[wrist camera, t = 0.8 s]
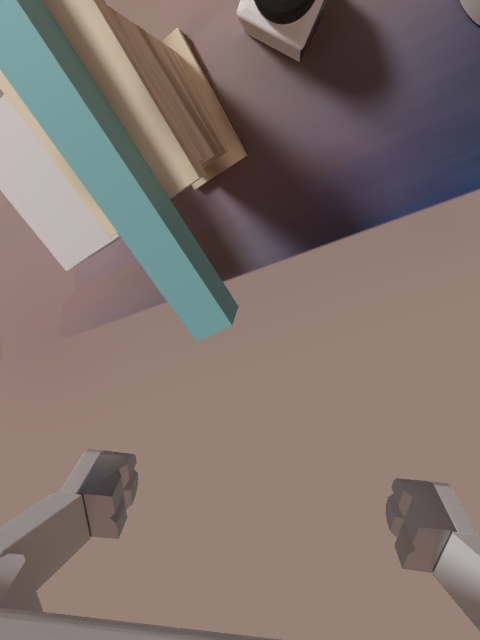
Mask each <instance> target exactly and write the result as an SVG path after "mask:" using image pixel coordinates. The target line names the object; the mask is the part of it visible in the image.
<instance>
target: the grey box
mask: <svg viewBox="0 0 480 640" xmlns="http://www.w3.org/2000/svg"><path fill="white" fill-rule="evenodd" d="M0 190H1V191H2V193H3V194H4V195H5V196H6V197H7V199H8V200H9V201H10V202H11V203H12V205H13V206H14V207H15V208H16V210H17V211H18V212H19V213H20V215H21V216H22V217H23V218H24V220H25V221H26V222H27V223H28V225H29V226H30V227H31V228H32V230H33V231H34V232H35V233H36V234H37V236H38V237H39V238H40V239H41V241H42V242H43V243H44V244H45V246H46V247H47V248H48V249H49V250H50V251H51V253H52V254H53V255H54V257H55V258H56V259H57V260H58V262H59V263H60V264H61V265H62V266H63V268H64V269H65V270H66V271H68V270H69V269H71V268H72V267H74V266H76V265H78V264H79V263H81V262H82V261H84V260H86V259H87V258H89V257H91V256H92V255H94V254H96V253H97V252H99V251H101V250H102V249H104V248H106V247H107V246H109V245H111V244H112V243H114V242H116V241H117V240H119V239H121V237H120V235H119V234H116V235H114V236H112V237H111V238H110V237H109V236H108V235H107V233H106V232H105V231H104V229H103V228H102V227H101V225H100V224H99V222H98V221H97V220H96V218H95V217H94V216H93V214H92V213H91V212H90V210H89V209H88V207H87V206H86V205H85V203H84V202H83V201H82V199H81V198H80V197H79V195H78V194H77V192H76V191H75V190H74V188H73V187H72V186H71V184H70V183H69V182H68V180H67V179H66V177H65V176H64V175H63V173H62V172H61V171H60V169H59V168H58V167H57V165H56V164H55V162H54V161H53V160H52V158H51V157H50V156H49V154H48V153H47V152H46V150H45V149H44V147H43V146H42V145H41V143H40V142H39V141H38V139H37V138H36V137H35V135H34V134H33V132H32V131H31V130H30V128H29V127H28V126H27V124H26V123H25V122H24V120H23V119H22V118H21V116H20V115H19V113H18V112H17V111H16V109H15V108H14V107H13V105H12V104H11V103H10V101H9V100H8V98H7V97H6V96H5V94H4V95H3V97H2V98H1V99H0Z"/></svg>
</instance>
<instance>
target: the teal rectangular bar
mask: <svg viewBox="0 0 480 640" xmlns="http://www.w3.org/2000/svg"><path fill="white" fill-rule="evenodd" d="M0 70H1V71H2V73H3V74H4V76H5V77H6V78H7V80H8V81H9V83H10V84H11V85H12V87H13V88H14V89H15V91H16V92H17V94H18V95H19V96H20V98H21V99H22V101H23V102H24V103H25V105H26V106H27V108H28V109H29V110H30V112H31V113H32V114H33V116H34V117H35V119H36V120H37V121H38V123H39V124H40V126H41V127H42V128H43V130H44V131H45V132H46V134H47V135H48V137H49V138H50V139H51V141H52V142H53V144H54V145H55V146H56V148H57V149H58V151H59V152H60V153H61V155H62V156H63V157H64V159H65V160H66V162H67V163H68V164H69V166H70V167H71V169H72V170H73V171H74V173H75V174H76V176H77V177H78V178H79V180H80V181H81V182H82V184H83V185H84V187H85V188H86V189H87V191H88V192H89V194H90V195H91V196H92V198H93V199H94V200H95V202H96V203H97V205H98V206H99V207H100V209H101V210H102V212H103V213H104V214H105V216H106V217H107V219H108V220H109V221H110V223H111V224H112V225H113V227H114V228H115V230H116V231H117V232H118V234H119V235H120V237H121V238H122V239H123V241H124V242H125V244H126V245H127V246H128V248H129V249H130V250H131V252H132V253H133V255H134V256H135V257H136V259H137V260H138V262H139V263H140V264H141V266H142V267H143V268H144V270H145V271H146V273H147V274H148V275H149V277H150V278H151V280H152V281H153V282H154V284H155V285H156V287H157V288H158V289H159V291H160V292H161V293H162V295H163V296H164V298H165V299H166V300H167V302H168V303H169V304H170V306H171V307H172V309H173V310H174V311H175V313H176V314H177V315H178V317H179V318H180V320H181V321H182V322H183V324H184V325H185V327H186V328H187V330H189V332H190V334H191V335H192V336H193V338H194V339H195V341H196V342H198V341H200V340H202V339H204V338H206V337H209V336H211V335H213V334H215V333H217V332H219V331H221V330H223V329H225V328H228V327H230V326H232V324H233V321H234V318H235V315H236V312H237V309H238V305H237V304H236V302H235V300H234V299H233V297H232V296H231V294H230V292H229V291H228V289H227V288H226V286H225V285H224V283H223V282H222V280H221V278H220V277H219V275H218V274H217V272H216V271H215V269H214V267H213V266H212V264H211V263H210V261H209V260H208V258H207V257H206V255H205V253H204V252H203V250H202V249H201V247H200V246H199V244H198V242H197V241H196V239H195V238H194V236H193V235H192V233H191V232H190V230H189V228H188V227H187V225H186V224H185V222H184V221H183V219H182V217H181V216H180V214H179V213H178V211H177V210H176V208H175V207H174V205H173V203H172V202H171V200H170V199H169V197H168V196H167V194H166V192H165V191H164V189H163V188H162V186H161V185H160V183H159V182H158V180H157V178H156V177H155V175H154V174H153V172H152V171H151V169H150V167H149V166H148V164H147V163H146V161H145V160H144V158H143V157H142V155H141V153H140V152H139V150H138V149H137V147H136V146H135V144H134V142H133V141H132V139H131V138H130V136H129V135H128V133H127V132H126V130H125V128H124V127H123V125H122V124H121V122H120V121H119V119H118V117H117V116H116V114H115V113H114V111H113V110H112V108H111V107H110V105H109V103H108V102H107V100H106V99H105V97H104V96H103V94H102V92H101V91H100V89H99V88H98V86H97V85H96V83H95V82H94V80H93V78H92V77H91V75H90V74H89V72H88V71H87V69H86V67H85V66H84V64H83V63H82V61H81V60H80V58H79V57H78V55H77V53H76V52H75V50H74V49H73V47H72V46H71V44H70V42H69V41H68V39H67V38H66V36H65V35H64V33H63V32H62V30H61V28H60V27H59V25H58V24H57V22H56V21H55V19H54V17H53V16H52V14H51V13H50V11H49V10H48V8H47V7H46V5H45V3H44V2H43V0H0Z"/></svg>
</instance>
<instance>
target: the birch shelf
mask: <svg viewBox="0 0 480 640" xmlns="http://www.w3.org/2000/svg"><path fill="white" fill-rule="evenodd" d="M43 2H44V3H45V5H46V7H47V8H48V10H49V11H50V13H51V14H52V16H53V17H54V19H55V21H56V22H57V24H58V25H59V27H60V28H61V30H62V32H63V33H64V35H65V36H66V38H67V39H68V41H69V42H70V44H71V46H72V47H73V49H74V50H75V52H76V53H77V55H78V57H79V58H80V60H81V61H82V63H83V64H84V66H85V67H86V69H87V71H88V72H89V74H90V75H91V77H92V78H93V80H94V82H95V83H96V85H97V86H98V88H99V89H100V91H101V92H102V94H103V96H104V97H105V99H106V100H107V102H108V103H109V105H110V107H111V108H112V110H113V111H114V113H115V114H116V116H117V117H118V119H119V121H120V122H121V124H122V125H123V127H124V128H125V130H126V132H127V133H128V135H129V136H130V138H131V139H132V141H133V142H134V144H135V146H136V147H137V149H138V150H139V152H140V153H141V155H142V157H143V158H144V160H145V161H146V163H147V164H148V166H149V167H150V169H151V171H152V172H153V174H154V175H155V177H156V178H157V180H158V182H159V183H160V185H161V186H162V188H163V189H164V191H165V192H166V194H167V196H168V197H169V199H171V198H172V197H174V196H175V195H177V194H178V193H180V192H181V191H183V190H184V189H186V188H187V187H189V186H190V185H192V186H193V188H194V190H195V189H197V188H199V187H200V186H202V185H203V184H205V183H206V182H208V181H209V180H211V179H212V178H214V177H215V176H217V175H218V174H220V173H221V172H223V171H224V170H226V169H227V168H229V167H230V166H232V165H233V164H235V163H236V162H238V161H240V160H241V159H243V158H244V157H246V156H247V153H246V151H245V150H244V148H243V146H242V144H241V142H240V140H239V138H238V136H237V135H236V133H235V131H234V129H233V127H232V125H231V123H230V121H229V120H228V118H227V116H226V114H225V112H224V110H223V108H222V106H221V105H220V103H219V101H218V99H217V97H216V95H215V93H214V91H213V90H212V88H211V86H210V84H209V82H208V80H207V78H206V76H205V75H204V73H203V71H202V69H201V67H200V65H199V63H198V61H197V60H196V58H195V56H194V54H193V52H192V50H191V48H190V46H189V45H188V43H187V41H186V39H185V37H184V35H183V33H182V31H181V30H180V29H178V28H176V29H175V30H174V31H173V32H172V33H171V34H170V35H168V36H167V37H166V38H165V39H164V40H163V41H159V40H158V39H156V38H155V37H153V36H152V35H150V34H149V33H147V32H146V31H145V30H143V29H142V28H140V27H139V26H137V25H136V24H134V23H133V22H131V21H130V20H128V19H127V18H125V17H124V16H122V15H121V14H119V13H118V12H117V11H115V10H114V9H112V8H111V7H109V6H107V4H106V3H105V1H104V0H43ZM0 89H1V90H2V92H3V93H4V94H5V96H6V97H7V98H8V100H9V101H10V103H11V104H12V105H13V107H14V108H15V109H16V111H17V112H18V113H19V115H20V116H21V118H22V119H23V120H24V122H25V123H26V124H27V126H28V127H29V128H30V130H31V131H32V132H33V134H34V135H35V137H36V138H37V139H38V141H39V142H40V143H41V145H42V146H43V147H44V149H45V150H46V152H47V153H48V154H49V156H50V157H51V158H52V160H53V161H54V162H55V164H56V165H57V167H58V168H59V169H60V171H61V172H62V173H63V175H64V176H65V177H66V179H67V180H68V182H69V183H70V184H71V186H72V187H73V188H74V190H75V191H76V192H77V194H78V195H79V197H80V198H81V199H82V201H83V202H84V203H85V205H86V206H87V207H88V209H89V210H90V212H91V213H92V214H93V216H94V217H95V218H96V220H97V221H98V222H99V224H100V225H101V227H102V228H103V229H104V231H105V232H106V233H107V235H108V236H109V237H110V238H111V237H112V236H114V235H116V234H118V232H117V231H116V230H115V228H114V227H113V225H112V224H111V223H110V221H109V220H108V219H107V217H106V216H105V214H104V213H103V212H102V210H101V209H100V207H99V206H98V205H97V203H96V202H95V200H94V199H93V198H92V196H91V195H90V194H89V192H88V191H87V189H86V188H85V187H84V185H83V184H82V182H81V181H80V180H79V178H78V177H77V176H76V174H75V173H74V171H73V170H72V169H71V167H70V166H69V164H68V163H67V162H66V160H65V159H64V157H63V156H62V155H61V153H60V152H59V151H58V149H57V148H56V146H55V145H54V144H53V142H52V141H51V139H50V138H49V137H48V135H47V134H46V132H45V131H44V130H43V128H42V127H41V126H40V124H39V123H38V121H37V120H36V119H35V117H34V116H33V114H32V113H31V112H30V110H29V109H28V108H27V106H26V105H25V103H24V102H23V101H22V99H21V98H20V96H19V95H18V94H17V92H16V91H15V89H14V88H13V87H12V85H11V84H10V83H9V81H8V80H7V78H6V77H5V76H4V74H3V73H2V71H1V70H0Z"/></svg>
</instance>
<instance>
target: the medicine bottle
mask: <svg viewBox="0 0 480 640" xmlns="http://www.w3.org/2000/svg"><path fill="white" fill-rule="evenodd" d="M327 2H328V0H240V3H239V6H238V9H237V16H238V18H239V20H240V22H241V24H242V26H243V28H244V30H245V32H246V33H247V34H248V35H250V36H252V37H254V38H256V39H257V40H259V41H261V42H263V43H265V44H267V45H269V46H270V47H272V48H274V49H276V50H278V51H280V52H281V53H283V54H285V55H287V56H289V57H291V58H293V59H294V60H296V61H298V62H300V61H302V59H303V57H304V55H305V52H306V50H307V48H308V46H309V43H310V41H311V39H312V36H313V34H314V32H315V30H316V27H317V25H318V23H319V20H320V18H321V16H322V13H323V11H324V9H325V7H326V4H327Z"/></svg>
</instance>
